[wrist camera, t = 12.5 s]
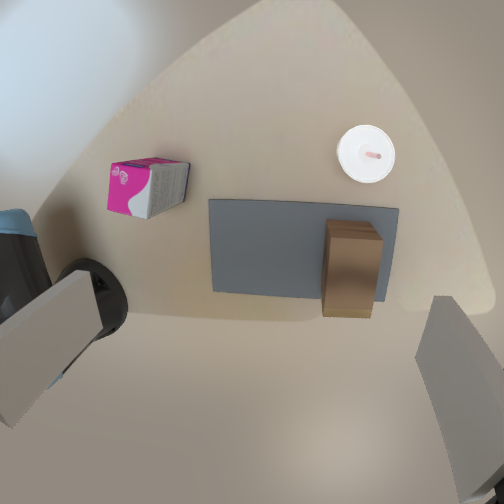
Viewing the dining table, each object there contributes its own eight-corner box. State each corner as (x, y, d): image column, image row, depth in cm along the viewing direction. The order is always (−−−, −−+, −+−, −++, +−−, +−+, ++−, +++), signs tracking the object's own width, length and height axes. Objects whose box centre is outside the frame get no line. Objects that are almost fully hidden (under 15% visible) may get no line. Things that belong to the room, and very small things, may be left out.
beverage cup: (343, 119, 36) (364, 108, 23) (383, 143, 36) (422, 146, 23) (322, 159, 38) (331, 168, 25) (362, 182, 38) (390, 203, 25)
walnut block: (326, 219, 40) (330, 237, 33) (369, 221, 39) (383, 240, 32) (320, 287, 44) (322, 316, 36) (360, 288, 43) (370, 318, 35)
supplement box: (191, 161, 41) (153, 170, 30) (184, 202, 43) (147, 223, 32) (154, 155, 41) (109, 162, 31) (149, 194, 44) (105, 213, 33)
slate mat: (213, 289, 47) (213, 291, 47) (209, 199, 42) (208, 199, 42) (383, 300, 43) (384, 301, 43) (398, 208, 38) (399, 209, 38)
